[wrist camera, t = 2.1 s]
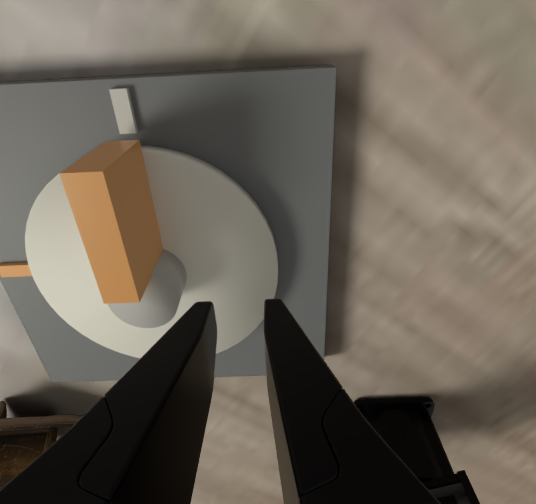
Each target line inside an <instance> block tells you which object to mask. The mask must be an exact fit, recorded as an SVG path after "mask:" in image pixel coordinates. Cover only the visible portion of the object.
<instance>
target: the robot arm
mask: <svg viewBox="0 0 536 504" xmlns="http://www.w3.org/2000/svg"><path fill="white" fill-rule="evenodd" d="M263 331H264V345H265V359H266V373H267V387H268V396H269V403H270V410H271V417H272V424H273V431H274V438H275V444H276V451H277V458H278V465H279V472H280V479H281V486H282V493H283V500H284V504H480V503H479V501H478V498H477V496H476V494H475V492H474V490H473V488H472V485H471V483H470V481H469V479H468V477H467V475H466V472H465V470H463V471H458V472H457V474H454V472H453V469H452V467H451V465H450V462H449V460H448V458H447V455H446V453H445V450H444V448H443V446H442V443H441V441H440V438H439V436H438V434H437V431H436V429H435V427H434V424H433V422H432V419H431V416H432V412H433V409H434V402H433V400H432V399H431V398H399V399H367V400H356V401H355V402H354V403H353V401H352V400H351V398H350V397H349V395H348V394H347V393H346V391H345V390H344V389H342V386H341V384H340V383H339V381H338V380H337V378H336V377H335V376H334V374H333V373H332V371H331V370H330V368H329V367H328V366H327V364H326V363H325V361H324V360H323V358H322V357H321V356H320V354H319V353H318V351H317V350H316V348H315V347H314V345H313V344H312V343H311V341H310V340H309V338H308V337H307V335H306V334H305V333H304V331H303V330H302V328H301V327H300V325H299V324H298V323H297V321H296V320H295V318H294V317H293V315H292V314H291V312H290V311H289V310H288V308H287V307H286V305H285V304H284V302H283V301H282V300H281V299H279V298H278V299H266V300H265V301H264V324H263ZM216 345H217V323H216V317H215V310H214V305H213V303H212V302H211V301H201V302H196V303H194V304H193V305H192V306H191V308H190V309H189V310H188V311H187V312H186V313H185V314H184V315H183V316H182V317H181V318H180V319H179V320H178V321H177V322H176V323H175V324H174V325H173V326H172V327H171V328H170V329H169V330H168V331H167V332H166V333H165V334H164V335H163V336H162V337H161V338H160V339H159V340H158V341H157V342H156V343H155V344H154V345H153V346H152V347H151V348H150V349H149V350H148V351H147V352H146V353H145V354H144V355H143V356H142V357H141V358H140V359H139V360H138V361H137V362H136V363H135V364H134V365H133V366H132V367H131V368H130V369H129V370H128V371H127V372H126V373H125V374H124V375H123V377H122V378H121V379H120V380H119V381H118V382H117V383H116V384H115V385H114V386H113V387H112V388H111V389H110V390H109V391H108V392H107V393H106V394H105V397H102V398H101V399H100V400H99V401H98V402H97V403H96V404H95V405H94V406H93V407H92V408H91V409H90V410H89V411H88V412H87V413H86V414H85V415H84V416H83V417H82V418H81V419H79V420H78V421H77V422H76V423H75V424H74V425H73V426H72V427H71V428H70V429H69V430H68V431H67V432H66V433H65V434H64V435H62V436H61V437H60V438H59V439H58V440H57V441H56V442H55V443H53V444H52V445H51V446H50V447H49V448H48V449H47V450H46V451H45V452H43V453H42V454H41V455H40V456H39V457H38V458H36V459H35V460H34V461H33V462H32V463H31V464H29V465H28V466H27V467H26V468H25V469H24V470H22V471H21V472H20V473H19V474H18V475H17V476H16V477H14V478H13V479H12V480H11V481H10V482H9V483H7V484H6V485H5V486H4V487H3V488H2V489H0V504H190V503H191V498H192V493H193V488H194V483H195V478H196V473H197V468H198V463H199V458H200V453H201V448H202V443H203V438H204V433H205V428H206V423H207V418H208V413H209V408H210V403H211V398H212V392H213V383H214V371H215V358H216Z"/></svg>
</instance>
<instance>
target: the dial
mask: <svg viewBox="0 0 536 504" xmlns="http://www.w3.org/2000/svg"><path fill="white" fill-rule="evenodd" d="M25 251H26V256H27V261H28V265H29V268H30V271H31V274H32V276H33V279H34V281H35V283H36V285H37V287H38V288H39V290H40V292H41V294H42V295H43V296H44V298H45V299H46V301H47V302H48V304H49V305H50V306H51V307H52V308H53V309H54V310H55V312H56V313H57V314H58V315H59V316H60V317H61V318H62V319H63V320H65V321H66V322H67V323H68V324H69V325H70V326H72V327H73V328H74V329H75V330H77V331H78V332H79V333H81V334H82V335H84V336H86V337H87V338H89V339H91V340H92V341H94V342H96V343H98V344H100V345H102V346H104V347H106V348H109V349H111V350H114V351H116V352H119V353H122V354H125V355H129V356H132V357H137V358H141V357H142V356H143V355H144V354H145V353H146V352H147V351H148V350H149V349H150V348H151V347H152V346H153V345H154V344H155V343H156V342H157V341H158V340H159V339H160V338H161V337H162V336H163V335H164V334H165V333H166V332H167V331H168V330H169V329H170V328H171V327H172V326H173V325H174V324H175V323H176V322H177V321H178V320H179V319H180V318H181V317H182V316H183V315H184V314H185V313H186V312H187V311H188V310H189V309H190V308H191V306H192V305H193V304H194V303H196V302H201V301H211V302H212V303H213V305H214V310H215V317H216V323H217V345H216V354H217V353H220V352H222V351H224V350H227V349H229V348H230V347H232V346H234V345H236V344H238V343H239V342H240V341H242V340H243V339H245V338H246V337H247V336H249V335H250V334H251V333H252V332H253V331H254V330H255V329H256V328H257V327H258V325H259V324H260V323H261V322H262V320H263V319H264V301H265V300H266V299H274V296H275V293H276V288H277V283H278V259H277V250H276V244H275V241H274V237H273V233H272V231H271V228H270V226H269V224H268V222H267V219H266V218H265V216H264V214H263V213H262V211H261V209H260V208H259V206H258V205H257V204H256V202H255V201H254V200H253V199H252V197H251V196H250V195H249V194H248V192H246V191H245V190H244V189H243V188H242V187H241V186H240V185H239V184H238V183H237V182H236V181H235V180H233V179H232V178H231V177H229V176H228V175H227V174H225V173H224V172H223V171H221V170H220V169H218V168H216V167H214V166H213V165H211V164H209V163H207V162H205V161H203V160H201V159H199V158H196V157H194V156H191V155H189V154H186V153H183V152H179V151H175V150H172V149H167V148H161V147H154V146H141V145H140V140H124V141H105V142H104V143H102V144H101V145H99V146H98V147H97V148H95V149H94V150H92V151H91V152H89V153H88V154H86V155H85V156H84V157H82V158H81V159H79V160H78V161H76V162H75V163H73V164H72V165H71V166H69V167H68V168H66V169H65V170H63V171H62V172H60V173H59V174H58V175H57V176H55V177H54V178H53V179H52V180H51V181H50V182H49V183H48V184H47V185H46V186H45V187H44V189H43V190H42V191H41V192H40V194H39V195H38V196H37V198H36V200H35V202H34V204H33V206H32V208H31V210H30V213H29V217H28V220H27V223H26V232H25Z"/></svg>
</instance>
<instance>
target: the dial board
mask: <svg viewBox="0 0 536 504" xmlns="http://www.w3.org/2000/svg"><path fill="white" fill-rule="evenodd" d="M335 89H336V67H335V66H333V65H317V66H297V67H278V68H259V69H240V70H221V71H201V72H182V73H163V74H144V75H124V76H105V77H86V78H67V79H47V80H28V81H9V82H0V280H1V282H2V284H3V286H4V288H5V290H6V292H7V294H8V296H9V298H10V300H11V302H12V304H13V306H14V308H15V310H16V312H17V314H18V316H19V318H20V320H21V322H22V324H23V326H24V328H25V330H26V332H27V334H28V336H29V338H30V340H31V342H32V344H33V346H34V348H35V350H36V352H37V354H38V356H39V358H40V360H41V362H42V364H43V366H44V368H45V370H46V372H47V374H48V376H49V378H50V380H51V382H79V381H109V380H120V379H121V378H122V377H123V375H124V374H125V373H126V372H127V371H128V370H129V369H130V368H131V367H132V366H133V365H134V364H135V363H136V362H137V361H138V360H139V359H140V358H137V357H132V356H129V355H125V354H122V353H119V352H116V351H114V350H111V349H109V348H106V347H104V346H102V345H100V344H98V343H96V342H94V341H92V340H91V339H89V338H87V337H86V336H84V335H82V334H81V333H79V332H78V331H77V330H75V329H74V328H73V327H72V326H70V325H69V324H68V323H67V322H66V321H65V320H63V319H62V318H61V317H60V316H59V315H58V314H57V313H56V312H55V310H54V309H53V308H52V307H51V306H50V305H49V304H48V302H47V301H46V299H45V298H44V296H43V295H42V294H41V292H40V290H39V288H38V287H37V285H36V283H35V281H34V279H33V276H32V274H31V271H30V268H29V265H28V261H27V256H26V251H25V232H26V223H27V220H28V217H29V213H30V210H31V208H32V206H33V204H34V202H35V200H36V198H37V196H38V195H39V194H40V192H41V191H42V190H43V189H44V187H45V186H46V185H47V184H48V183H49V182H50V181H51V180H52V179H53V178H54V177H55V176H57V175H58V174H59V173H60V172H62V171H63V170H65V169H66V168H68V167H69V166H71V165H72V164H73V163H75V162H76V161H78V160H79V159H81V158H82V157H84V156H85V155H86V154H88V153H89V152H91V151H92V150H94V149H95V148H97V147H98V146H99V145H101V144H102V143H104V142H105V141H124V140H140V145H141V146H154V147H161V148H167V149H172V150H175V151H179V152H183V153H186V154H189V155H191V156H194V157H196V158H199V159H201V160H203V161H205V162H207V163H209V164H211V165H213V166H214V167H216V168H218V169H220V170H221V171H223V172H224V173H225V174H227V175H228V176H229V177H231V178H232V179H233V180H235V181H236V182H237V183H238V184H239V185H240V186H241V187H242V188H243V189H244V190H245V191H246V192H248V194H249V195H250V196H251V197H252V199H253V200H254V201H255V202H256V204H257V205H258V206H259V208H260V209H261V211H262V213H263V214H264V216H265V218H266V219H267V222H268V224H269V226H270V228H271V231H272V233H273V237H274V241H275V244H276V250H277V259H278V283H277V288H276V293H275V296H274V299H278V298H279V299H281V300H282V301H283V302H284V304H285V305H286V307H287V308H288V310H289V311H290V312H291V314H292V315H293V317H294V318H295V320H296V321H297V323H298V324H299V325H300V327H301V328H302V330H303V331H304V333H305V334H306V335H307V337H308V338H309V340H310V341H311V343H312V344H313V345H314V347H315V348H316V350H317V351H318V353H319V354H320V356H321V357H322V358H323V360H324V350H325V326H326V303H327V279H328V255H329V232H330V208H331V184H332V160H333V137H334V113H335ZM263 324H264V319H263V320H262V322H261V323H260V324H259V325H258V327H257V328H256V329H255V330H254V331H253V332H252V333H251V334H250V335H249V336H247V337H246V338H245V339H243V340H242V341H240V342H239V343H238V344H236V345H234V346H232V347H230V348H229V349H227V350H224V351H222V352H220V353H217V354H216V358H215V371H214V377H230V376H261V375H267V373H266V359H265V345H264V331H263Z"/></svg>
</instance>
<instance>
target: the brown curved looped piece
mask: <svg viewBox="0 0 536 504" xmlns="http://www.w3.org/2000/svg"><path fill="white" fill-rule="evenodd" d="M6 416H7V410H6V402H4V401H1V402H0V489H2V488H3V487H4V486H5V485H6V484H7V483H9V482H10V481H11V480H12V479H13V478H14V477H16V476H17V475H18V474H19V473H20V472H21V471H22V470H24V469H25V468H26V467H27V466H28V465H29V464H31V463H32V462H33V461H34V460H35V459H36V458H38V457H39V456H40V455H41V454H42V453H43V452H45V451H46V450H47V449H48V448H49V447H50V446H51V445H52V444H53V443H55V442H56V439H57V427H66V426H73V425H74V424H75V423H76V422H77V421H78V420H79V419H81V418H82V417H83V415H70V414H67V415H52V416H43V417H17V418H6Z"/></svg>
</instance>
